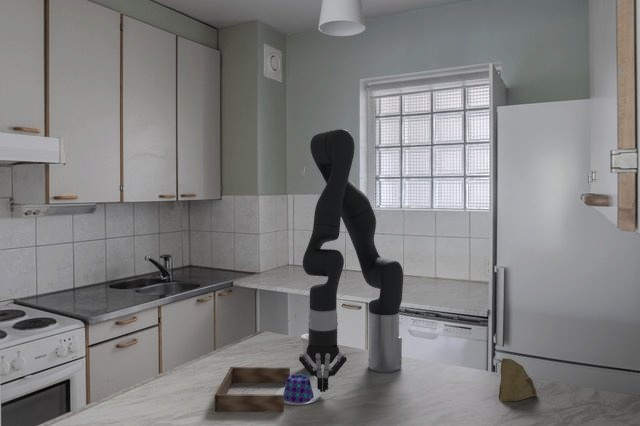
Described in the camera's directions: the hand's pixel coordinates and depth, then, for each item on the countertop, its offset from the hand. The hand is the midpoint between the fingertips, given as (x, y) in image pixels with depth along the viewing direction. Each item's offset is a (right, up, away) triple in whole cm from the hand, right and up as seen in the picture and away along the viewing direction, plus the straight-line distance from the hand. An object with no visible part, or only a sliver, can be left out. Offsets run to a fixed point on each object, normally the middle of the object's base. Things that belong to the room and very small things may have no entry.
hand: (322, 390), depth 124 cm
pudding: (-6, -2, +1) cm, 7 cm away
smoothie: (-3, -1, +20) cm, 21 cm away
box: (-17, -2, +1) cm, 17 cm away
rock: (+51, -2, 0) cm, 51 cm away
